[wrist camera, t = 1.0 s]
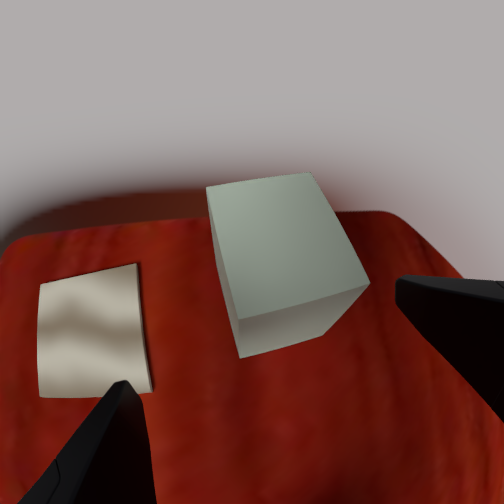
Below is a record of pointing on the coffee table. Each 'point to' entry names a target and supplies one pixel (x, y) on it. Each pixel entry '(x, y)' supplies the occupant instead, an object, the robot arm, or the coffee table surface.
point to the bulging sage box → (281, 261)
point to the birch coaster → (91, 335)
